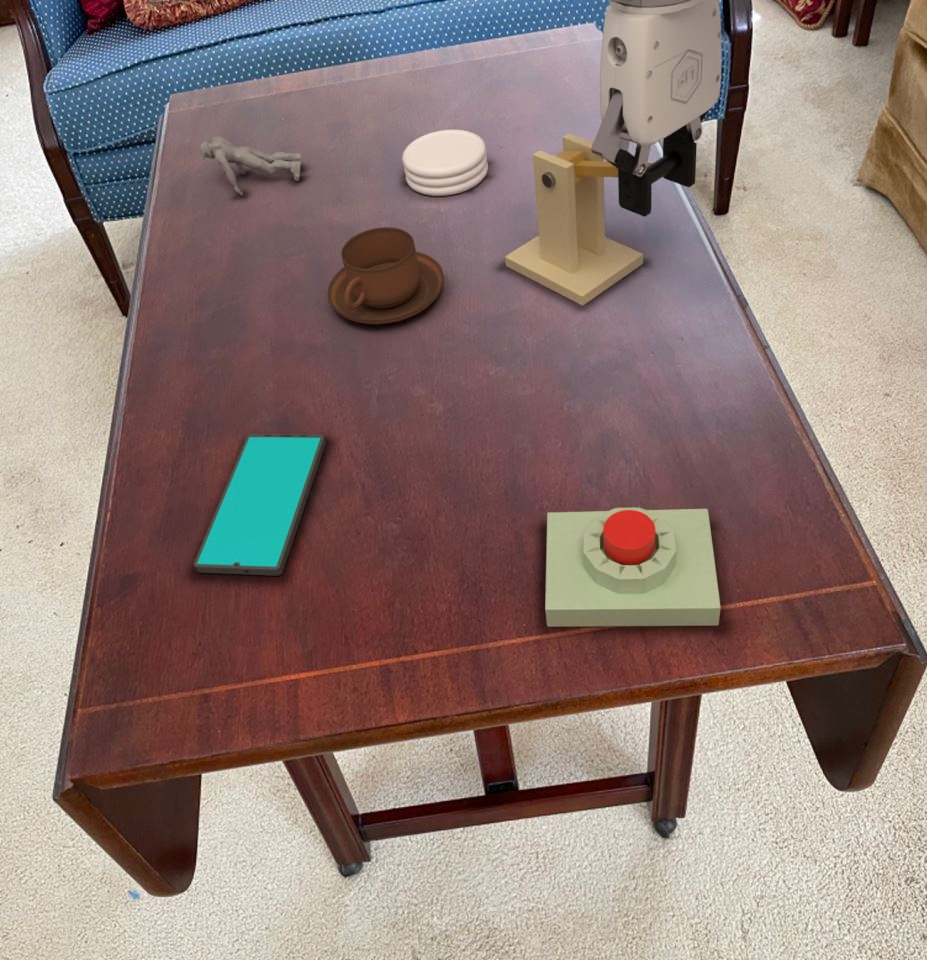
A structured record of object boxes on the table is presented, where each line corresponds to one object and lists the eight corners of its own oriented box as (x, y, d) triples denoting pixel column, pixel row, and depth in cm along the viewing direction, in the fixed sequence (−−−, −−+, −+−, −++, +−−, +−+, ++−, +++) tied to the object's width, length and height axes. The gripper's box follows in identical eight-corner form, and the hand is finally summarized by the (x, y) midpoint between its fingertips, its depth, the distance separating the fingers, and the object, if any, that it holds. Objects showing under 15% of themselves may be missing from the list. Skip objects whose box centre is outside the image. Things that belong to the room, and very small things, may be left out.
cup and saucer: (432, 337, 92) (422, 285, 87) (317, 333, 95) (302, 283, 90) (457, 265, 100) (449, 214, 95) (350, 264, 102) (337, 214, 98)
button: (653, 524, 68) (653, 508, 67) (656, 564, 66) (657, 548, 64) (603, 525, 68) (602, 510, 67) (604, 565, 66) (603, 549, 65)
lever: (684, 172, 82) (679, 145, 81) (646, 197, 80) (640, 170, 79) (579, 168, 92) (573, 144, 91) (543, 190, 90) (537, 166, 89)
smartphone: (325, 434, 83) (278, 569, 73) (327, 440, 84) (281, 576, 74) (246, 433, 84) (191, 566, 74) (249, 439, 85) (194, 572, 75)
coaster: (420, 153, 117) (416, 127, 115) (497, 155, 115) (494, 128, 112) (395, 196, 111) (390, 169, 108) (476, 199, 108) (472, 171, 106)
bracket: (643, 263, 96) (645, 146, 86) (582, 306, 92) (577, 188, 83) (565, 227, 102) (559, 114, 93) (505, 266, 99) (493, 152, 89)
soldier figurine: (297, 180, 121) (201, 164, 118) (301, 142, 118) (203, 124, 115) (296, 206, 117) (196, 190, 114) (300, 166, 113) (198, 149, 110)
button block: (706, 527, 72) (709, 492, 69) (718, 625, 66) (722, 592, 63) (548, 530, 74) (545, 496, 71) (547, 627, 67) (543, 594, 65)
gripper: (620, 26, 64) (624, 255, 77) (772, -57, 71) (752, 167, 84) (542, 6, 68) (558, 226, 81) (692, -70, 75) (685, 144, 88)
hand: (657, 194), depth 82 cm, fingers closed on lever, 5 cm apart
